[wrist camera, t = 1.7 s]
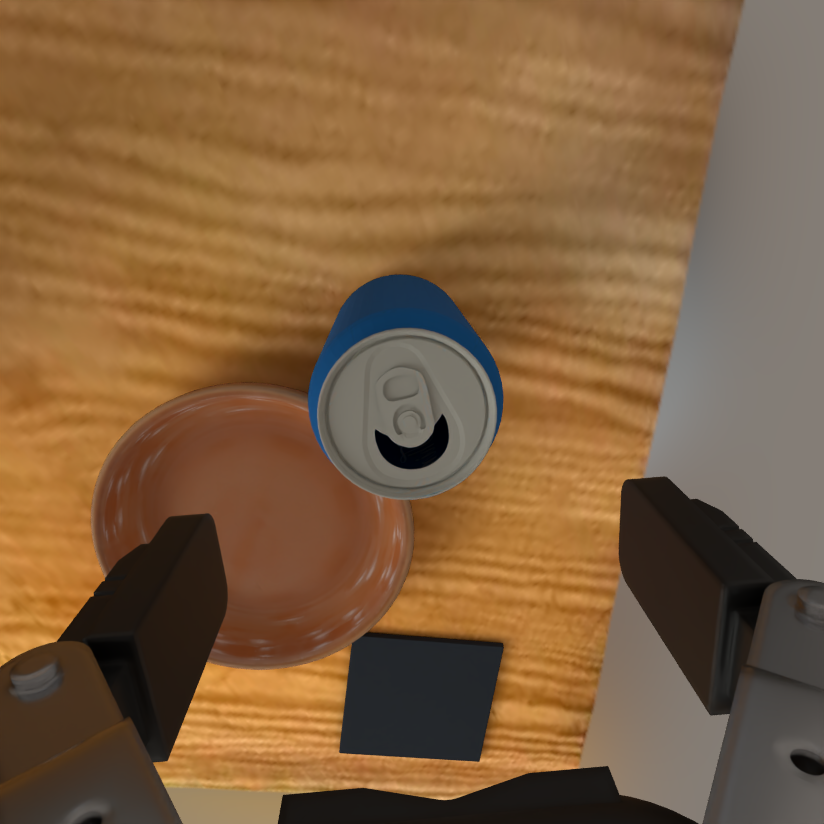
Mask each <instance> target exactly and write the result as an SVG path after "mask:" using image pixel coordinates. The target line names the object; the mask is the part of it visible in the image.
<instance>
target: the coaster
mask: <svg viewBox="0 0 824 824" xmlns="http://www.w3.org/2000/svg"><path fill="white" fill-rule="evenodd" d="M503 648H504V647H503V643H496V642H483V641H470V640H457V639H444V638H431V637H419V636H406V635H393V634H380V633H365V634H364V635H363V636H361V637H360V638H359V639H357V640H356V641H354V642H353V643H352V647H351V655H350V664H349V673H348V681H347V690H346V698H345V707H344V715H343V724H342V733H341V741H340V750H339V753H347V754H363V755H380V756H396V757H412V758H428V759H445V760H461V761H477V762H479V761H480V756H481V751H482V747H483V742H484V737H485V733H486V728H487V723H488V718H489V714H490V709H491V704H492V700H493V695H494V690H495V686H496V681H497V676H498V672H499V667H500V662H501V658H502V653H503Z"/></svg>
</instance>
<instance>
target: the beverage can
mask: <svg viewBox="0 0 824 824" xmlns="http://www.w3.org/2000/svg"><path fill="white" fill-rule="evenodd" d="M308 410H309V418H310V422H311V427H312V429H313V432H314V435H315V437H316V440H317V442H318V443H319V445H320V447H321V449H322V451H323V452H324V453H325V455H326V456H327V458H328V459H329V460H330V461H331V462H332V463H333V464H334V465H335V467H336V468H337V469H338V470H339V471H340V472H341V473H342V474H343V475H344V476H345V477H346V478H347V479H348V480H350V481H351V482H352V483H353V484H355V485H357V486H358V487H360V488H361V489H363V490H366V491H368V492H370V493H372V494H375V495H378V496H381V497H385V498H390V499H399V500H415V499H422V498H428V497H431V496H435V495H438V494H440V493H443V492H445V491H447V490H449V489H451V488H453V487H455V486H456V485H458V484H459V483H461V482H462V481H463V480H465V479H466V478H467V477H468V476H469V475H470V474H471V473H472V472H473V471H474V470H475V469H476V468H477V467H478V466H479V464H480V463H481V462H482V460H483V459H484V457H485V455H486V454H487V452H488V450H489V448H490V446H491V445H492V443H493V441H494V439H495V436H496V434H497V432H498V429H499V425H500V422H501V417H502V411H503V389H502V382H501V378H500V374H499V371H498V368H497V366H496V364H495V361H494V359H493V357H492V356H491V354H490V352H489V351H488V349H487V348H486V346H485V345H484V343H483V342H482V341H481V339H480V338H479V336H478V335H477V334H476V332H475V331H474V330H473V328H472V327H471V325H470V324H469V323H468V321H467V320H466V319H465V317H464V316H463V314H462V313H461V312H460V310H459V309H458V307H457V306H456V305H455V303H454V302H453V301H452V300H451V298H450V297H449V296H448V295H447V294H446V293H445V292H444V291H443V290H442V289H440V288H439V287H438V286H436V285H435V284H433V283H431V282H429V281H427V280H424V279H422V278H419V277H415V276H411V275H389V276H383V277H380V278H377V279H374V280H372V281H370V282H368V283H366V284H364V285H363V286H361V287H360V288H358V289H357V290H356V291H355V292H354V293H352V295H351V296H350V297H349V298H348V299H347V300H346V302H345V303H344V305H343V306H342V307H341V309H340V311H339V313H338V316H337V318H336V320H335V322H334V325H333V327H332V329H331V331H330V334H329V336H328V338H327V340H326V343H325V345H324V347H323V349H322V352H321V354H320V356H319V359H318V361H317V363H316V365H315V368H314V371H313V374H312V377H311V380H310V386H309V391H308Z"/></svg>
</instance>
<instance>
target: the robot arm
mask: <svg viewBox="0 0 824 824" xmlns="http://www.w3.org/2000/svg"><path fill="white" fill-rule="evenodd" d="M619 561H620V567H621V571H622V574H623V577H624V579H625V582H626V583H627V585H628V587H629V588H630V589H631V591H632V593H633V594H634V596H635V597H636V599H637V601H638V602H639V604H640V606H641V607H642V609H643V610H644V612H645V613H646V615H647V617H648V618H649V620H650V621H651V623H652V624H653V626H654V627H655V629H656V631H657V632H658V634H659V635H660V637H661V639H662V640H663V642H664V643H665V645H666V646H667V648H668V650H669V651H670V653H671V654H672V656H673V657H674V659H675V660H676V662H677V664H678V665H679V667H680V668H681V670H682V672H683V673H684V675H685V676H686V678H687V680H688V681H689V682H690V684H691V686H692V687H693V689H694V691H695V692H696V694H697V695H698V696H699V698H700V700H701V701H702V703H703V705H704V706H705V708H706V710H707V711H708V712H709V714H710V715H722V714H730V716H729V719H728V724H727V727H726V731H725V736H724V740H723V743H722V748H721V752H720V755H719V760H718V763H717V768H716V772H715V776H714V780H713V784H712V788H711V792H710V796H709V800H708V804H707V808H706V812H705V816H704V820H703V824H824V583H822V582H817V581H812V580H803V579H796V578H795V577H794V576H793V575H792V574H791V573H790V572H789V571H788V570H786V569H785V568H784V567H783V566H782V565H781V564H780V563H779V562H778V561H777V560H775V559H774V558H773V557H772V556H771V555H770V554H769V553H768V552H767V551H765V550H764V549H763V548H762V547H761V546H760V545H759V544H758V543H757V542H753V539H752V538H751V537H750V536H749V535H748V534H747V533H746V532H744V530H742V529H739V526H738V525H737V524H736V523H735V522H734V521H733V520H731V519H730V518H729V517H728V516H727V515H726V514H725V513H724V512H723V511H721V510H719V509H717V508H715V507H713V506H711V505H708V504H707V503H704V502H702V501H700V500H698V499H689V498H688V497H687V496H686V495H685V494H684V493H683V492H682V491H681V490H680V489H679V488H678V487H677V486H676V485H675V484H674V483H673V482H672V481H671V480H670V479H668V478H667V477H652V478H640V479H628V480H625V482H624V483H623V486H622V491H621V510H620V532H619ZM227 602H228V587H227V580H226V575H225V570H224V565H223V560H222V555H221V550H220V545H219V540H218V535H217V530H216V526H215V522H214V519H213V517H212V516H211V515H210V514H209V513H205V514H192V515H180V516H170V517H168V518H167V519H166V520H165V522H164V523H163V525H162V526H161V528H160V529H159V530H158V532H157V533H156V535H155V536H154V537H153V539H152V540H151V542H150V543H148V544H140V545H139V546H138V547H136V548H135V549H133V550H132V551H131V552H129V553H128V554H127V555H125V556H124V557H122V558H121V559H120V560H118V562H117V563H116V564H115V566H114V567H113V568H112V569H111V571H110V572H109V573H108V575H107V576H106V577H105V581H103V582H102V583H101V584H100V585H99V587H98V588H97V589H96V591H95V592H94V596H93V597H90V598H89V600H88V601H87V602H86V604H85V605H84V606H83V608H82V609H81V610H80V612H79V613H78V614H77V616H76V617H75V618H74V619H73V621H72V622H71V623H70V625H69V626H68V627H67V629H66V630H65V631H64V633H63V634H62V635H61V637H60V638H59V639H58V641H57V642H54V643H49V644H45V645H42V646H39V647H36V648H34V649H31V650H29V651H26V652H24V653H22V654H20V655H18V656H17V657H15V658H13V659H11V660H10V661H8V662H7V663H5V664H4V665H2V666H1V667H0V824H182V821H181V819H180V817H179V815H178V813H177V811H176V809H175V807H174V805H173V803H172V801H171V799H170V797H169V795H168V793H167V791H166V789H165V787H164V785H163V783H162V780H161V778H160V776H159V774H158V772H157V770H156V768H155V766H154V764H153V762H163V761H168V758H169V756H170V753H171V751H172V748H173V746H174V743H175V741H176V738H177V736H178V733H179V731H180V728H181V726H182V723H183V721H184V718H185V715H186V713H187V710H188V708H189V705H190V703H191V700H192V698H193V695H194V693H195V690H196V688H197V685H198V683H199V680H200V678H201V675H202V673H203V670H204V668H205V665H206V662H207V660H208V657H209V655H210V652H211V650H212V647H213V645H214V642H215V640H216V637H217V635H218V632H219V630H220V627H221V625H222V622H223V620H224V617H225V614H226V610H227ZM278 824H698V823H696V822H695V821H693V820H691V819H689V818H687V817H685V816H682V815H681V814H678V813H677V812H674V811H672V810H670V809H667V808H665V807H662V806H659V805H657V804H654V803H651V802H648V801H644V800H640V799H637V798H633V797H628V796H622V795H619V793H618V790H617V787H616V785H615V782H614V780H613V777H612V775H611V772H610V770H609V767H608V766H605V767H593V768H581V769H570V770H559V771H548V772H536V773H528V774H525V775H522V776H519V777H516V778H513V779H511V780H508V781H505V782H502V783H499V784H496V785H493V786H491V787H488V788H485V789H482V790H479V791H476V792H473V793H471V794H468V795H465V796H462V797H459V798H456V799H452V800H437V799H430V798H424V797H418V796H411V795H405V794H399V793H392V792H386V791H380V790H373V789H367V788H356V789H345V790H334V791H323V792H311V793H300V794H289V795H283V797H282V803H281V808H280V815H279V820H278Z"/></svg>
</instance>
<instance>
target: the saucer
mask: <svg viewBox="0 0 824 824" xmlns="http://www.w3.org/2000/svg"><path fill="white" fill-rule="evenodd" d="M205 513H209V514H210V515H211V516H212V517H213V519H214V522H215V526H216V530H217V535H218V540H219V545H220V550H221V555H222V560H223V565H224V570H225V575H226V580H227V587H228V602H227V610H226V614H225V617H224V620H223V622H222V625H221V627H220V630H219V632H218V635H217V637H216V640H215V642H214V645H213V647H212V650H211V652H210V655H209V657H208V660H207V662H209V663H213V664H217V665H221V666H226V667H232V668H240V669H254V670H265V669H279V668H287V667H293V666H298V665H302V664H306V663H310V662H313V661H316V660H319V659H322V658H324V657H327V656H329V655H331V654H333V653H336V652H338V651H340V650H342V649H343V648H345V647H347V646H348V645H350V644H351V643H353V642H354V641H356V640H357V639H359V638H360V637H361V636H363V635H364V634H365V633H367V632H368V631H369V630H370V629H371V628H372V627H373V626H374V625H375V624H376V623H377V622H378V621H379V620H380V619H381V618H382V617H383V616H384V615H385V613H386V612H387V611H388V610H389V608H390V607H391V605H392V604H393V602H394V601H395V599H396V598H397V596H398V594H399V592H400V590H401V588H402V586H403V584H404V582H405V579H406V577H407V574H408V571H409V567H410V564H411V559H412V554H413V547H414V521H413V513H412V508H411V504H410V500H399V499H390V498H385V497H381V496H378V495H375V494H372V493H370V492H368V491H366V490H363V489H361V488H360V487H358V486H357V485H355V484H353V483H352V482H351V481H350V480H348V479H347V478H346V477H345V476H344V475H343V474H342V473H341V472H340V471H339V470H338V469H337V468H336V467H335V465H334V464H333V463H332V462H331V461H330V460H329V459H328V458H327V456H326V455H325V453H324V452H323V451H322V449H321V447H320V445H319V443H318V442H317V440H316V437H315V435H314V432H313V429H312V427H311V422H310V418H309V410H308V394H307V393H305V392H302V391H298V390H295V389H291V388H287V387H284V386H279V385H273V384H265V383H228V384H221V385H215V386H210V387H206V388H202V389H198V390H194V391H192V392H189V393H187V394H184V395H181V396H179V397H177V398H174V399H172V400H170V401H168V402H166V403H164V404H162V405H160V406H158V407H157V408H155V409H154V410H152V411H150V412H149V413H147V414H146V415H145V416H143V417H142V418H141V419H139V420H138V421H137V422H136V423H134V424H133V425H132V426H131V427H130V428H129V429H128V430H127V431H126V432H125V433H124V435H123V436H122V437H121V438H120V439H119V440H118V442H117V443H116V444H115V446H114V447H113V448H112V450H111V451H110V453H109V454H108V456H107V458H106V460H105V462H104V464H103V466H102V468H101V470H100V473H99V476H98V479H97V482H96V485H95V489H94V494H93V499H92V508H91V528H92V538H93V543H94V548H95V552H96V555H97V558H98V561H99V564H100V567H101V569H102V572H103V574H104V576H105V577H106V576H107V575H108V573H109V572H110V571H111V569H112V568H113V567H114V566H115V564H116V563H117V562H118V560H120V559H121V558H122V557H124V556H125V555H127V554H128V553H129V552H131V551H132V550H133V549H135V548H136V547H138V546H139V545H140V544H148V543H150V542H151V540H152V539H153V537H154V536H155V535H156V533H157V532H158V530H159V529H160V528H161V526H162V525H163V523H164V522H165V520H166V519H167V518H168V517H170V516H180V515H192V514H205Z"/></svg>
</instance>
